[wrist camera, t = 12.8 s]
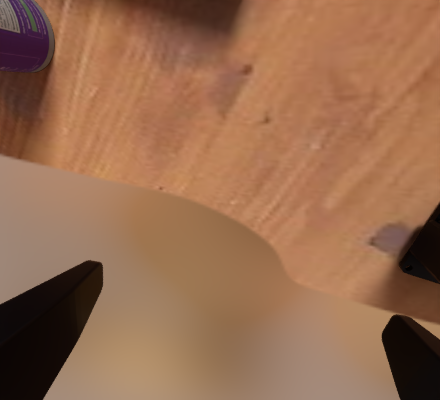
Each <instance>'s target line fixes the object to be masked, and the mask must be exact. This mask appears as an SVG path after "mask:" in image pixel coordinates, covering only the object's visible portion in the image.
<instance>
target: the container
mask: <svg viewBox="0 0 440 400" xmlns="http://www.w3.org/2000/svg"><path fill="white" fill-rule="evenodd" d="M53 52H54V35H53V30H52V27H51V24H50V22H49V19H48V17H47V16H46V14H45V12H44V11H43V10H42V8H41V7H40V6H39V5H38V4H37V3H36V2H35V1H34V0H0V71H12V72H29V73H32V72H38V71H40V70H42V69H44V68H45V67H46V66H47V65H48V64H49V62H50V60H51V58H52V56H53Z"/></svg>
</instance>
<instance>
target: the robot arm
mask: <svg viewBox="0 0 440 400" xmlns="http://www.w3.org/2000/svg"><path fill="white" fill-rule="evenodd" d="M408 265H410V266H409V267H407V268H406V266H408ZM399 267H400V269H401V270H402V271H403V272H404V273H407V274H410V275H413V276H416V277H419V278H423V279H426V280H429V281H432V282H435V283H439V284H440V206H439V207H438V209H437V210H436V212H435V213H434V215H433V216H432V218H431V219H430V220H429V222H428V223H427V225H426V226H425V228H424V229H423V230H422V232H421V233H420V235H419V236H418V238H417V239H416V241H415V242H414V243H413V245H412V246H411V248H410V249H409V251H408V252H407V254H406V255H405V257H404V258H403V259H402V261H401V262H400V264H399ZM102 287H103V265H102V263H101V262H97V261H91V260H88V261H85V262H83V263H81V264H80V265H77V266H75V267H73V268H71V269H69V270H67V271H65V272H63V273H61V274H60V275H57V276H56V277H54V278H52V279H50V280H48V281H46V282H44V283H42V284H40V285H38V286H36V287H34V288H32V289H30V290H28V291H26V292H24V293H22V294H20V295H18V296H16V297H14V298H12V299H10V300H8V301H6V302H4V303H2V304H0V400H43V398H44V397H45V395H46V393H47V392H48V390H49V388H50V387H51V385H52V383H53V382H54V380H55V378H56V377H57V375H58V373H59V372H60V370H61V368H62V366H63V365H64V363H65V362H66V360H67V358H68V357H69V355H70V353H71V352H72V350H73V348H74V346H75V345H76V343H77V341H78V339H79V337H80V335H81V333H82V331H83V329H84V327H85V324H86V323H87V320H88V318H89V316H90V314H91V312H92V309H93V307H94V305H95V303H96V301H97V299H98V297H99V295H100V293H101V290H102ZM382 342H383V345H384V349H385V352H386V355H387V359H388V362H389V365H390V369H391V372H392V375H393V378H394V382H395V385H396V388H397V391H398V394H399V397H400V399H401V400H440V340H439V339H438V338H437V337H436V336H434V335H433V334H432V333H430V332H429V331H428V330H426V329H425V328H424V327H422V326H421V325H420V324H418V323H417V322H416V321H414V320H413V319H412V318H410V317H408V316H403V315H397V314H396V315H393V316H392V317H391V319H390V321H389V322H388V324H387V325H386V327H385V329H384V330H383V333H382Z"/></svg>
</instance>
